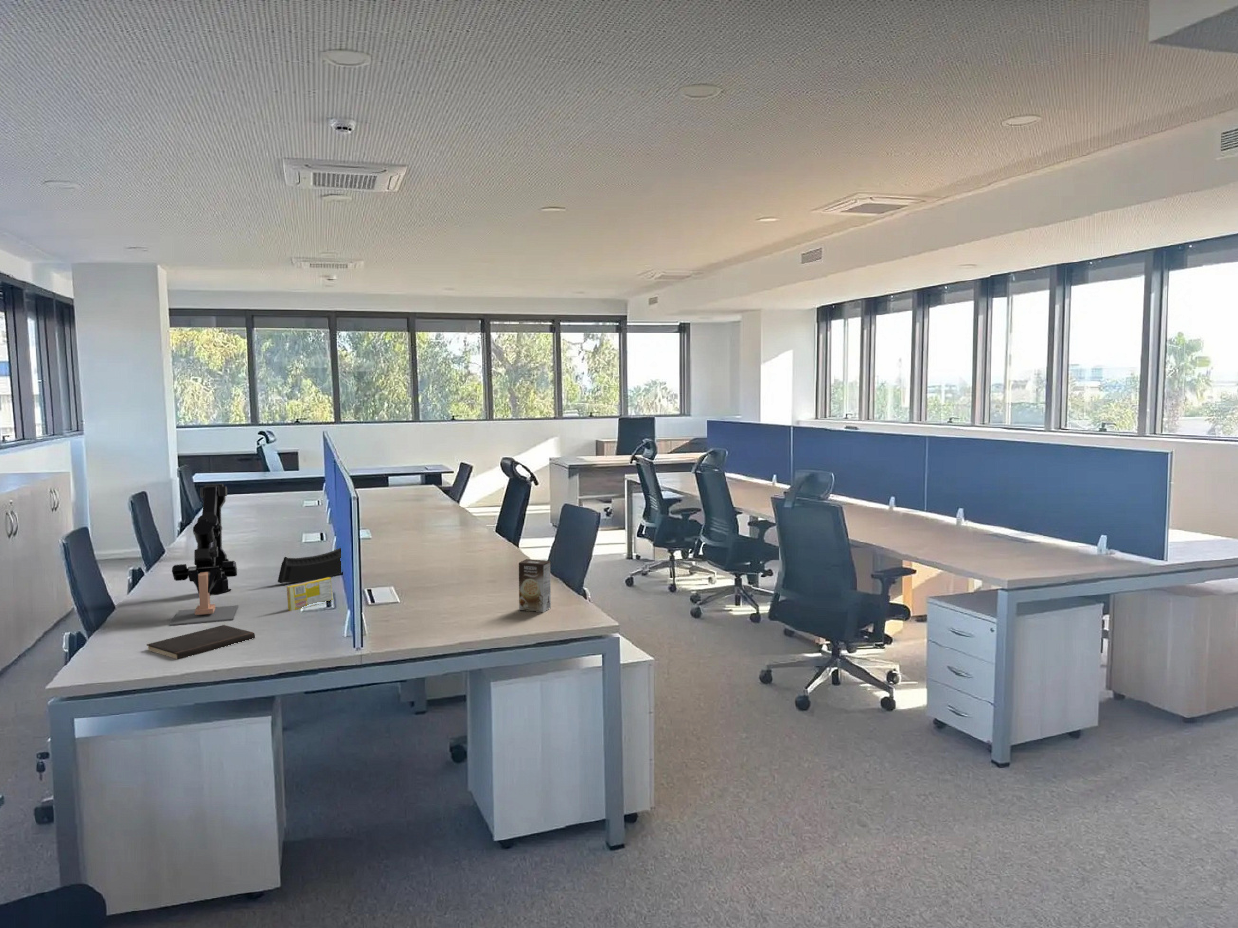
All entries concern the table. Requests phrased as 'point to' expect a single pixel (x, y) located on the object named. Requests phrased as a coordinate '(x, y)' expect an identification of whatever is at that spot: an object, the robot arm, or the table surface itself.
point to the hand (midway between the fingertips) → (203, 592)
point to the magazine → (310, 567)
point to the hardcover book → (200, 641)
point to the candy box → (309, 593)
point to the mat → (204, 616)
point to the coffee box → (534, 585)
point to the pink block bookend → (204, 595)
